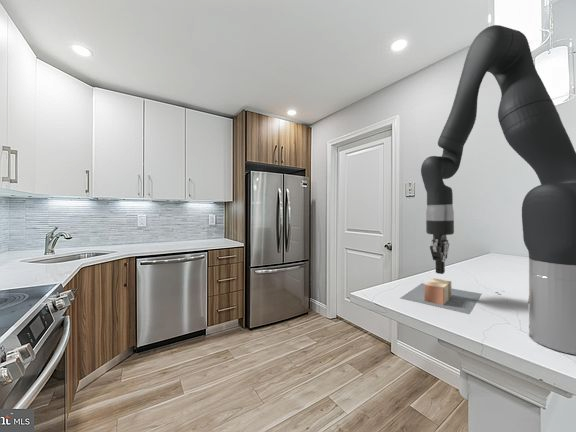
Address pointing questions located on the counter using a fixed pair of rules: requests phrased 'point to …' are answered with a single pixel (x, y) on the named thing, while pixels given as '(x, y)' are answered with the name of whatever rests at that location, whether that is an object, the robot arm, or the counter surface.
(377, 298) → the counter surface
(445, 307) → the rubber mat
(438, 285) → the birch block
